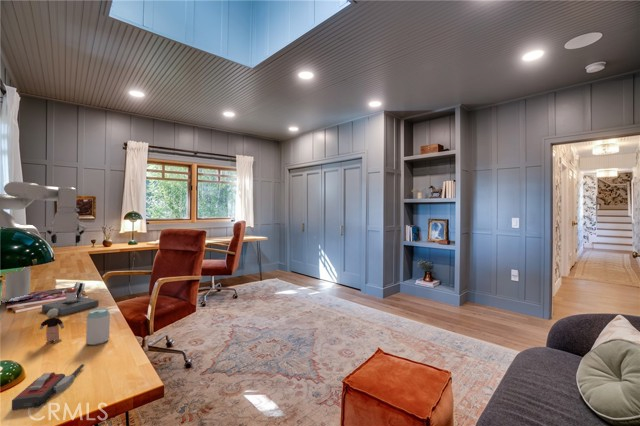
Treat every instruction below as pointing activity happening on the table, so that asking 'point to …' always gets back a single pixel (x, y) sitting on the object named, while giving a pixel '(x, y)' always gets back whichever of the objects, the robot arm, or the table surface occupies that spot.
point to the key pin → (71, 295)
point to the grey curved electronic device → (79, 288)
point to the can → (97, 326)
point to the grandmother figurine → (52, 326)
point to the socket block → (71, 306)
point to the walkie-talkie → (43, 390)
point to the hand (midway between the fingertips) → (66, 242)
